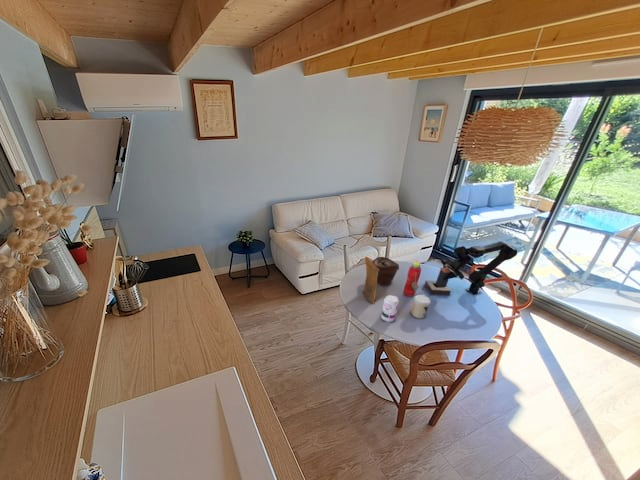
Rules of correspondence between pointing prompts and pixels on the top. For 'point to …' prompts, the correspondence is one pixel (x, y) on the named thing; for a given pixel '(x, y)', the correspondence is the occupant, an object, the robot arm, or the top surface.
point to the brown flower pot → (385, 270)
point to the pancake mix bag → (370, 280)
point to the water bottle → (412, 279)
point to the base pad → (436, 288)
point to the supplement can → (389, 308)
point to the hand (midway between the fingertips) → (441, 277)
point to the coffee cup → (420, 306)
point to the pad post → (442, 277)
